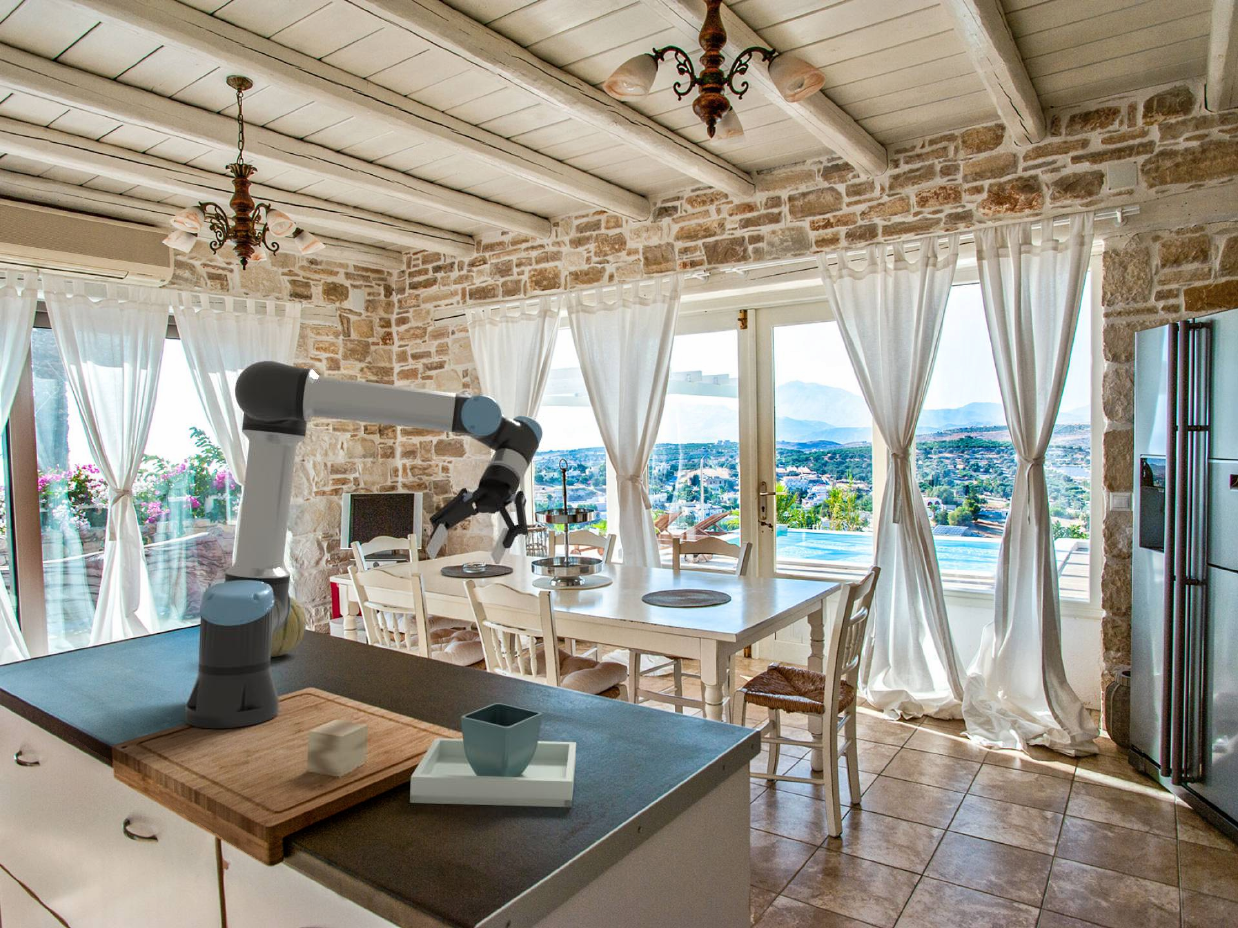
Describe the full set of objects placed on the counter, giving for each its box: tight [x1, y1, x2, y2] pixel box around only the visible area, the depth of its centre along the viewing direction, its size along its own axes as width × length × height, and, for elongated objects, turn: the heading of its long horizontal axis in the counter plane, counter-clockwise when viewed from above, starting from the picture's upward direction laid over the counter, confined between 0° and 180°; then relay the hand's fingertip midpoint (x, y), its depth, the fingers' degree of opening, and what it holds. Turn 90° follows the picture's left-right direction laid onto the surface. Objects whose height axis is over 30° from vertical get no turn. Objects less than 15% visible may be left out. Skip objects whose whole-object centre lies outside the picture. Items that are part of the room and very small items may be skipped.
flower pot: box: [460, 702, 543, 777], centre depth 116 cm, size 9×9×9 cm
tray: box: [409, 737, 577, 808], centre depth 116 cm, size 22×16×4 cm
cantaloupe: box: [271, 596, 307, 658], centre depth 188 cm, size 15×15×15 cm
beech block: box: [306, 719, 369, 778], centre depth 120 cm, size 6×6×6 cm
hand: (461, 557), depth 146 cm, fingers open, 13 cm apart
